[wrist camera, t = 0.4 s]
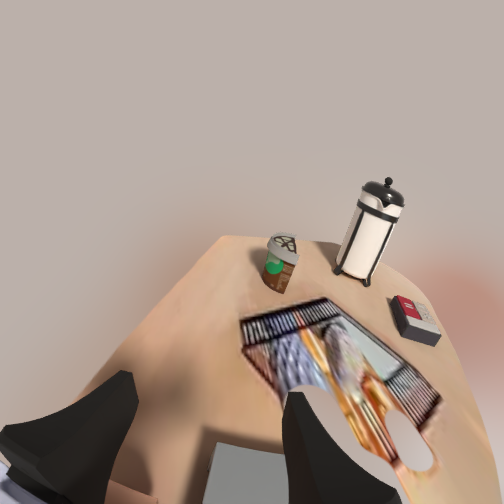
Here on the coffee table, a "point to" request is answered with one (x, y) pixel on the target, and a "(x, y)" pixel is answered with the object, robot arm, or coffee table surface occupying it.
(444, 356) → the coffee table surface
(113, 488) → the peg
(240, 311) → the coffee table surface
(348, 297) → the coffee table surface
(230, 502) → the keyhole plate
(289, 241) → the food container
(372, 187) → the coffee press
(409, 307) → the red and grey box
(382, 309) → the coffee table surface
